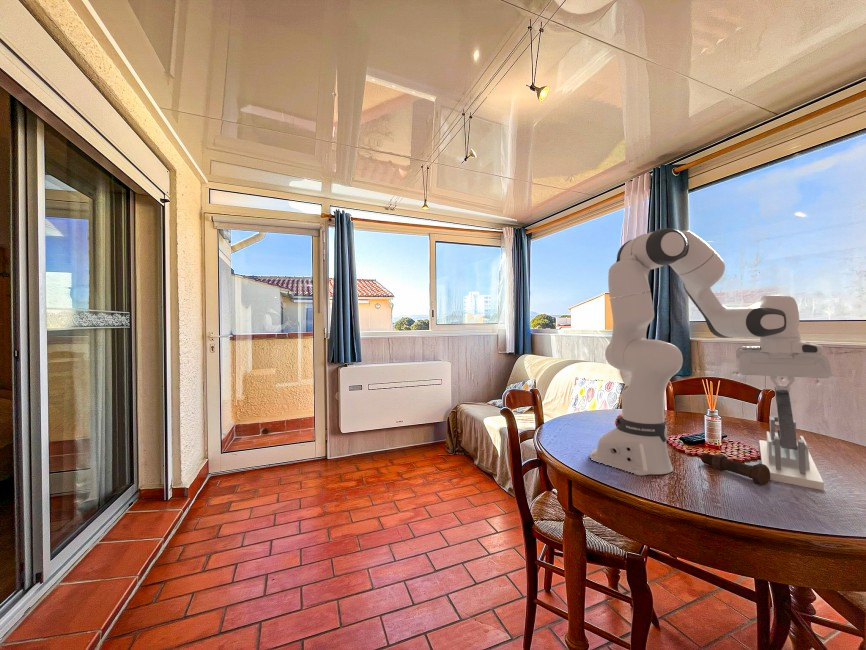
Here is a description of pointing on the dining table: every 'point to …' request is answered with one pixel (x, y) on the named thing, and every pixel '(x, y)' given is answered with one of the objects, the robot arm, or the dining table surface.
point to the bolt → (738, 468)
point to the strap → (785, 420)
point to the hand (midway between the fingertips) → (782, 390)
